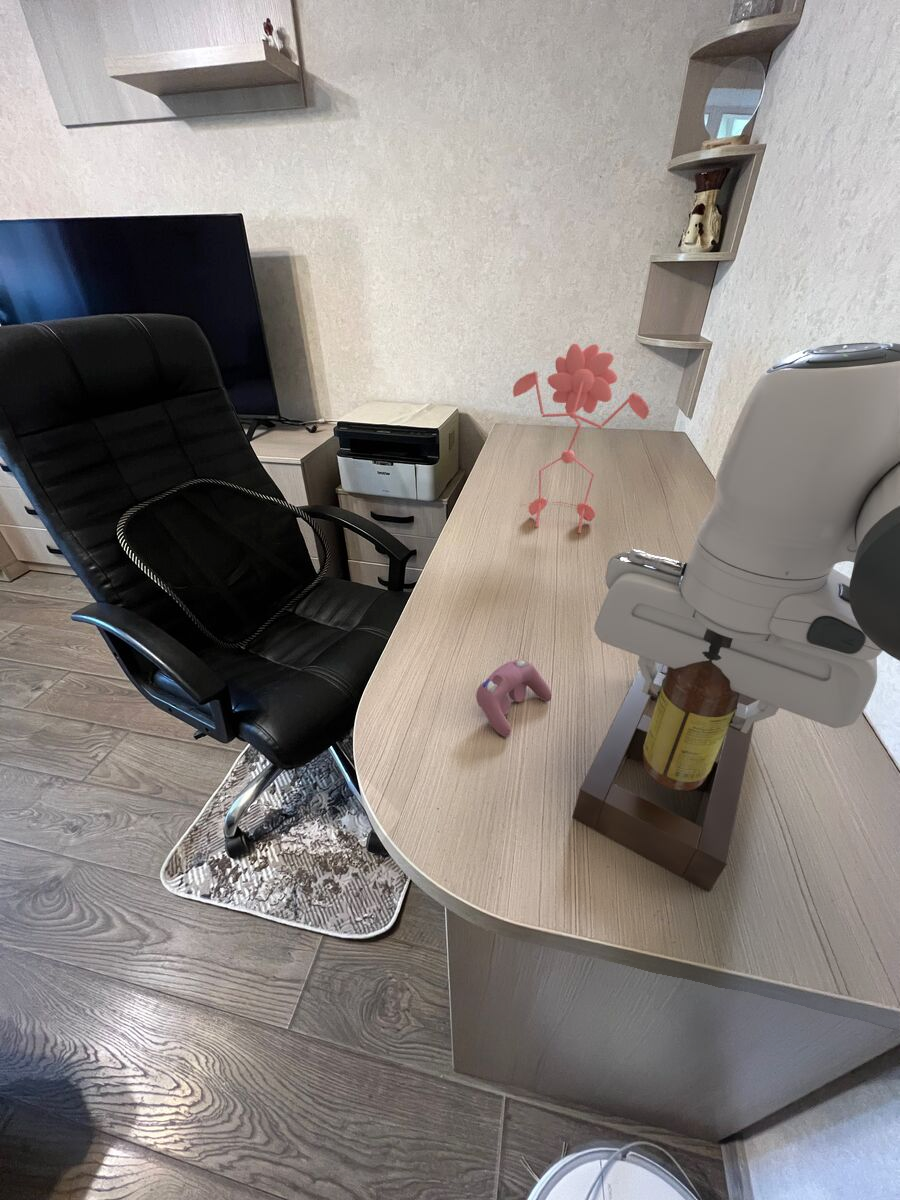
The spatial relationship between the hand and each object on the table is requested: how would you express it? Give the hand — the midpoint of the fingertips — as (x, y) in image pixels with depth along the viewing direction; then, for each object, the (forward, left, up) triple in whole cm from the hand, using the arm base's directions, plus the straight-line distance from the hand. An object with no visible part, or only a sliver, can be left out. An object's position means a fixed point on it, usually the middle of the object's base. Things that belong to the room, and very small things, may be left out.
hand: (693, 708), depth 46 cm
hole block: (0, -5, -14) cm, 16 cm away
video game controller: (+19, -3, -15) cm, 24 cm away
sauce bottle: (0, 0, -9) cm, 9 cm away
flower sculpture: (+36, -60, -15) cm, 72 cm away
